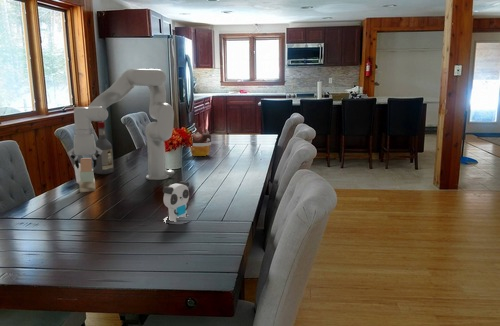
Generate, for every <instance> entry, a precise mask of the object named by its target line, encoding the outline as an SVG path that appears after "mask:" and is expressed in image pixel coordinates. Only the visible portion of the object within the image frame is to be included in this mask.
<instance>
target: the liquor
mask: <svg viewBox="0 0 500 326" xmlns="http://www.w3.org/2000/svg"><path fill="white" fill-rule="evenodd" d="M97 127H98V139H97V140H95V144H96V147H97V148H99V149H100V150H102V153H101V155H100V156H99V157H98V158H97V159H96V161H97V165H96V166H95V168H94V171H95V174H96V175H97V174H98V175H109V174H111V173H114V156H113V155H114V153H113V145H112V143H111V142H110V141H109V140H108V139H107V138H106V129H105V128H106V124H105V121H97ZM98 153H99V152H98V151H97V150H96V153H95V155H97V154H98Z"/></svg>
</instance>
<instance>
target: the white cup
mask: <svg viewBox="0 0 500 326" xmlns="http://www.w3.org/2000/svg"><path fill="white" fill-rule="evenodd" d="M73 166H74V175H75V179H76V181H75V182H76V184H78V185H79V181H80V170H81V165H80V163H79V168H77V167H76V166H75V164H74V165H73Z"/></svg>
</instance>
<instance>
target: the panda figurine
mask: <svg viewBox="0 0 500 326" xmlns="http://www.w3.org/2000/svg"><path fill="white" fill-rule="evenodd" d="M189 186H190V183H189V182H188V181H183V180H181V181H179V183H173V184H170V185H168V186H166V185H165V186H163V187H162V193H163V199H162V200H163V204H164V206H165V207H167V208H168V209H167V210H168V216H169V220H170V221H174V222H177V218H179V217H185V218H187V216H188V212H187V210H188V208H189V204H188V202H189V198H190V192H189V191H190V190H189ZM168 216H166V217H165V218H163V220H164V221H163V223H164V222H165V223H164V224H166V220H167V218H168Z"/></svg>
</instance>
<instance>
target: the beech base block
mask: <svg viewBox="0 0 500 326" xmlns="http://www.w3.org/2000/svg"><path fill="white" fill-rule="evenodd" d="M78 185H79V193H86V192H87V193H88V192H95V191H96V179H95V177H94V181H91V182H81V179H80V181H79V184H78Z"/></svg>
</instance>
